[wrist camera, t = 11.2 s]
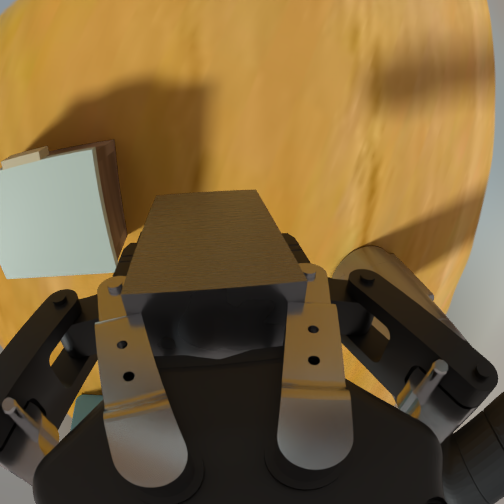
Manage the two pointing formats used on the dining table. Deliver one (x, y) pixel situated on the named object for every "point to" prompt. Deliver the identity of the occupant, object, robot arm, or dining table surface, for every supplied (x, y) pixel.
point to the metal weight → (212, 275)
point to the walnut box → (108, 188)
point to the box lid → (53, 215)
